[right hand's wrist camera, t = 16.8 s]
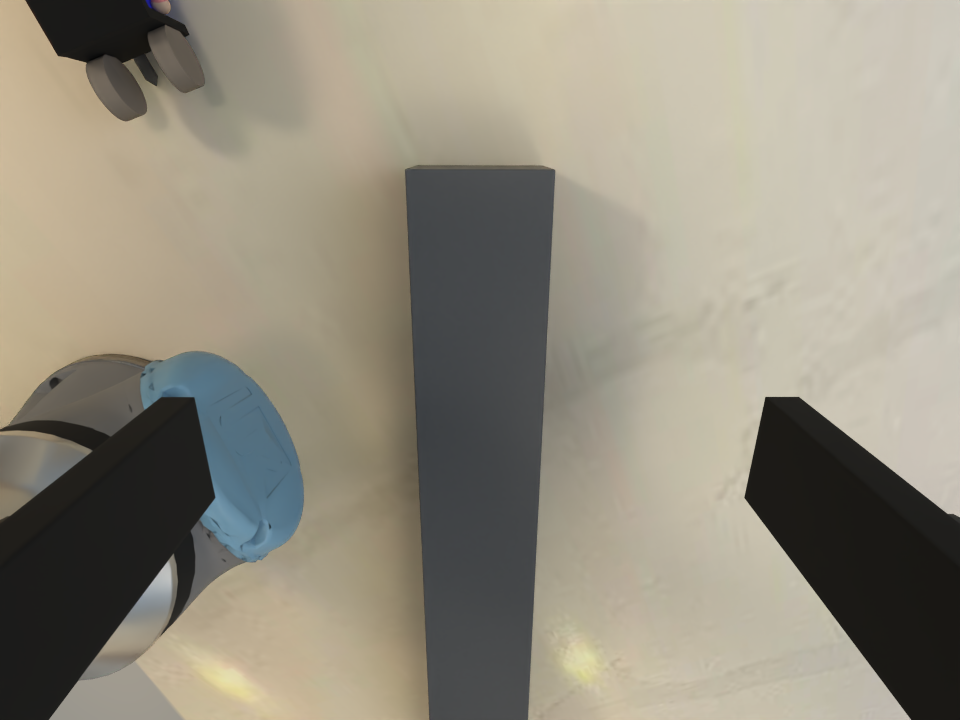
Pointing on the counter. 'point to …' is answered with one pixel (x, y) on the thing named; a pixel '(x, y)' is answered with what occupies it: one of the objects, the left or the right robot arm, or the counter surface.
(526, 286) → the thick board
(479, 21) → the counter surface
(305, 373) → the counter surface
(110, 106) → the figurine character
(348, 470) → the counter surface
